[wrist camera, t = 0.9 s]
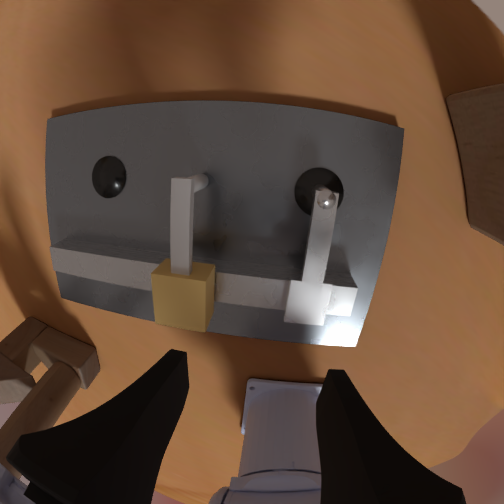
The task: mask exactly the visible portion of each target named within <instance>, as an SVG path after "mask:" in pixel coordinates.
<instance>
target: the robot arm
mask: <svg viewBox="0 0 504 504" xmlns="http://www.w3.org/2000/svg"><path fill="white" fill-rule="evenodd" d="M188 390H189V377H188V364H187V352H183V351H179V350H174V349H171V350H169V351H168V352H167V353H166V354H165V355H164V356H163V357H162V358H161V359H160V360H159V361H158V362H157V363H156V364H154V365H153V366H152V367H151V368H150V369H149V370H148V371H147V372H146V373H144V374H143V375H142V376H141V377H140V378H138V379H137V380H136V381H135V382H134V383H132V384H131V385H130V386H129V387H127V388H126V389H125V390H123V391H122V392H121V393H119V394H118V395H116V396H115V397H114V398H112V399H111V400H109V401H107V402H106V403H104V404H103V405H101V406H99V407H98V408H96V409H94V410H92V411H90V412H88V413H86V414H84V415H82V416H80V417H78V418H76V419H74V420H71V421H69V422H66V423H63V424H61V425H58V426H55V427H52V428H49V429H46V430H41V431H37V432H33V433H28V434H23V435H21V436H20V437H19V438H18V440H17V441H16V443H15V444H14V446H13V447H12V449H11V450H10V452H9V453H8V455H7V456H6V460H7V461H8V462H9V463H10V464H11V465H12V466H13V467H14V468H15V469H16V470H17V471H18V472H19V473H21V474H22V475H23V476H24V477H25V478H26V479H28V480H29V481H30V483H29V485H28V486H27V485H25V484H24V483H23V482H21V481H20V480H19V479H18V478H16V477H15V476H14V475H13V474H12V473H11V472H10V471H9V470H7V469H6V468H5V467H4V466H3V465H2V464H1V463H0V504H151V501H152V496H153V492H154V488H155V484H156V480H157V476H158V473H159V469H160V466H161V462H162V459H163V456H164V453H165V451H166V448H167V446H168V444H169V441H170V439H171V437H172V434H173V432H174V430H175V427H176V425H177V423H178V420H179V418H180V415H181V413H182V411H183V408H184V405H185V401H186V398H187V394H188ZM241 433H242V434H243V435H244V441H243V447H242V454H241V460H240V467H239V473H238V477H231V482H230V487H222V488H220V489H219V490H218V491H217V492H216V493H215V494H214V495H213V496H212V497H211V499H210V501H209V504H466V501H465V497H464V495H463V491H462V488H460V487H458V486H456V485H454V484H452V483H450V482H448V481H446V480H444V479H442V478H441V477H439V476H438V475H436V474H435V473H433V472H432V471H430V470H428V469H427V468H426V467H425V466H423V465H422V464H421V463H419V462H418V461H417V460H416V459H415V458H413V457H412V456H411V455H410V454H409V453H408V452H406V451H405V450H404V449H403V448H402V447H401V446H400V445H399V444H398V443H397V442H396V441H395V440H394V439H393V438H392V436H391V435H390V434H389V433H388V432H387V431H386V430H385V428H384V427H383V426H382V425H381V423H380V422H379V421H378V419H377V418H376V417H375V416H374V414H373V413H372V411H371V410H370V409H369V407H368V406H367V404H366V403H365V401H364V400H363V399H362V397H361V396H360V394H359V392H358V391H357V389H356V388H355V386H354V385H353V383H352V382H351V380H350V378H349V377H348V375H347V374H346V372H345V371H344V370H336V369H329V370H328V372H327V375H326V378H325V380H324V383H323V384H311V383H295V382H283V381H272V380H263V379H254V378H251V379H249V380H248V381H247V389H246V397H245V405H244V413H243V421H242V428H241Z"/></svg>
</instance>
